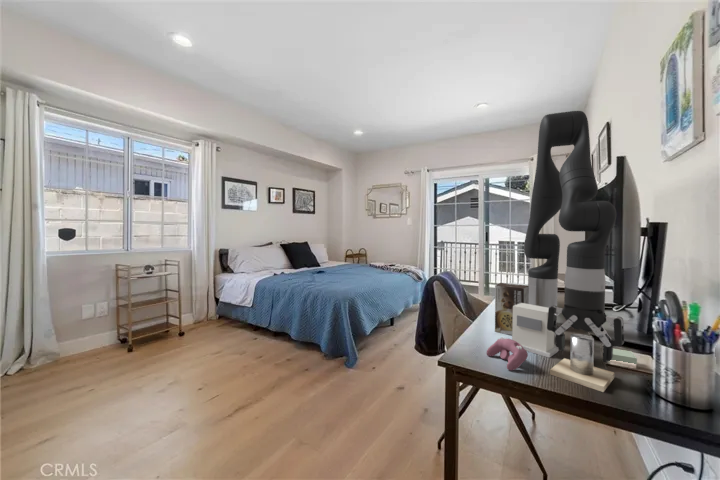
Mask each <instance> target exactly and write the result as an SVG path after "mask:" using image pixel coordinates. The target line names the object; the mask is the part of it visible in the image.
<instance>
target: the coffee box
mask: <svg viewBox="0 0 720 480" xmlns="http://www.w3.org/2000/svg"><path fill="white" fill-rule="evenodd" d="M528 293H529V286H528V284H527V285H525V284H518V283H517V284H515V283H507V282H506V283H505V282H499V283H497V284H495V285H494V333H500V334H505V335H509V336H512V328H513V306H514V305H517V304H520V303H525V304H528Z"/></svg>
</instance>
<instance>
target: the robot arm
mask: <svg viewBox="0 0 720 480" xmlns="http://www.w3.org/2000/svg"><path fill="white" fill-rule="evenodd" d="M589 128H590V127H589V121H588V117H587V115H586V113H585V112H584V111H582V110H571V111H562V112H554V113H548V114H545V115H544V116H543V117H542V118H541V121H540V124H539V129H538V143H537V158H536V168H535V175H534V180H533V186H532V191H531V192H532V193H531V201H530V210H529V221H528V225H527V230H526V234H525V239H524V246H523V252H524V255H525V257H526V258H528V259H535V260H536V259H538V260H546V261H545V263H542V264H540V265H539V266H536V267H535V266H534V267H531V268H529V269H528V272H527V277H528V278H527V285H528V286H529V293H528V304H531V305H536V306H542V307H547V308H549V311H548V322H547V329H548V330H549V331H553V332H554V335H555V347H558V350H559V351H561V352H563V351H564V350H565V349H566V348H565V347H566V346H565V345H566V334H564V332H566V331H567V330H568V329H569V328H572V329H574V330H577V331H579V330H582V331H584V332H587V333H592V332H593V333H594V335H595V336H596V337H597V338H598V339H599V340H600V341H601V342H602V344H603V346H602V363H604V364H605V363H606V364H608V362H609V361H610V360H611V359H612V358H613V349H614V347H622V346H623V345H624V343H625V332H624V331H625V330H624V329H625V328H624V318H623V317H621V316H616V317H615V316H607V315H606V311H605V307H606V306H605V305H606V297H605V296H606V273H605V257H606V256H605V254H606V248H607V245H608V241H609V239H610V236H611V233H612V231H613V229H614V226H615V224H616V220H617V215H618V213H617V209H616V207H615V206H614V204H613V203H612V202H610V201H607V200H592V199H594V198H595V197H596V196H597V195H598V192H599V187H598V184H597V180H596V176H595V172H594V169H593V165H592V160H591V159H592V156H591V141H590V140H591V139H590V129H589ZM564 146H565V147H566V146H574V147H573V149H572V151H571V152H570V154H569V156H567V158H566V159H565V161H564V162H563V163H562V165H561V167H560V169H558V167H556V164H555V163H554V160H553V157H552V153H551V152H552V151H551V150H552V148H554V147H564ZM558 212H559V214H558ZM556 214H558V223H559V225H560V227H561V228H562V229H563V230H565V231H566V232H591V235H590V236H589V237H588V238H587V239H585V240H580V241H574V242H571V243H569V244H567V246H566V267H565V268H566V269H565V274H564V282H563V283H564V301H563V305H564V306H563V308H562V307H558V285H559V283H558V278H559V263H560V261H559V260H560V259H559V258H560V250H561V249H560V247H561V240H560V237H559V236H558V234H557V233H540V231H541V230H542V228H543V227H544V226H545V225H546V224H547V223H548V222H549V221H550V220H551V219H552V218H553V217H555V216H556ZM560 315H562V316H563V318H564V319H565V321H564V322H563V323H562V325H560V326H557V322H558V321H557V320H558V316H560ZM606 322H608V323H609V325H610V327H611V328H613V334H614V338H612V337H611V336H610V335H609V334H608V332H607V330H606V329H605V327H604V326H603V325H604V324H605V323H606Z"/></svg>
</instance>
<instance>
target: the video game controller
mask: <svg viewBox="0 0 720 480" xmlns="http://www.w3.org/2000/svg"><path fill="white" fill-rule="evenodd" d="M511 353H512V354H511ZM498 354H499V357H500V358H501V359H502V360H505V361H507V364H506V368H507V370H508V371H515V370H517V369H518V368H520V367H521V365H522V364H523V363H524V362H526V361H527V358H528V356H529V354H528V351H526V350H525V349H524V348H523V347H522V346H521V345H520V344H519V343H518V342H516V341H514V340H512V338H507V337H500V338H498V339H497V340H496V341H495V342H494V343H492V344H491V345H490V346H489V347H488V348H487V350H486V356H488V357H493V356H496V355H498Z"/></svg>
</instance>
